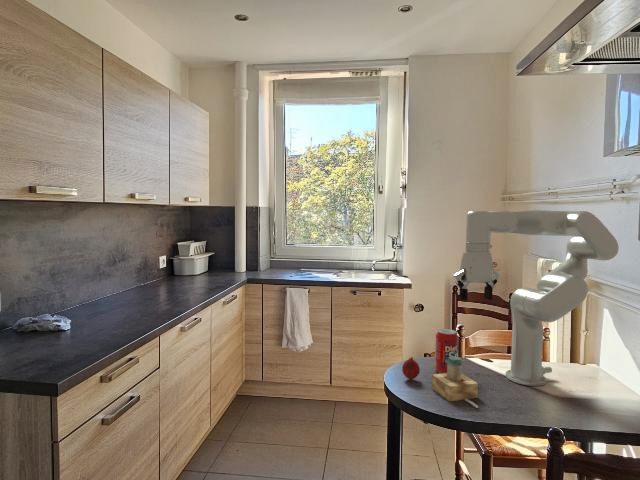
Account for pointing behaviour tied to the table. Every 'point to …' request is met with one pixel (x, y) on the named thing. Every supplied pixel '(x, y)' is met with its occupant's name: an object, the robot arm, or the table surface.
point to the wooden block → (454, 387)
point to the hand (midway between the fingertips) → (475, 299)
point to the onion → (410, 368)
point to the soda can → (445, 348)
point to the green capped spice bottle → (454, 369)
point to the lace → (471, 403)
